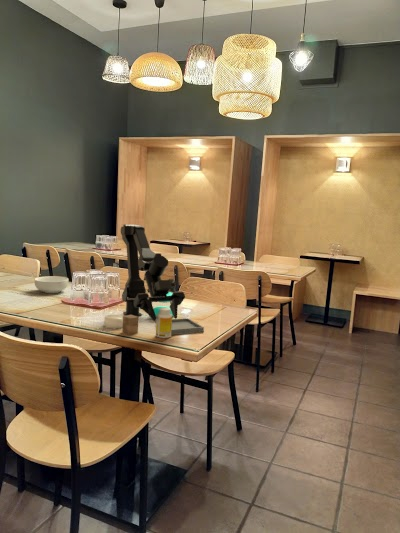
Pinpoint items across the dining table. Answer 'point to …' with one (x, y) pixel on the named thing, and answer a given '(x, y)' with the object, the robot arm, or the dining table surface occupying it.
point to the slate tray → (185, 326)
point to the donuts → (163, 306)
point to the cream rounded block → (113, 321)
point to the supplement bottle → (164, 323)
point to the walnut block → (130, 324)
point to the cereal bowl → (51, 283)
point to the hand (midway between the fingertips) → (165, 319)
